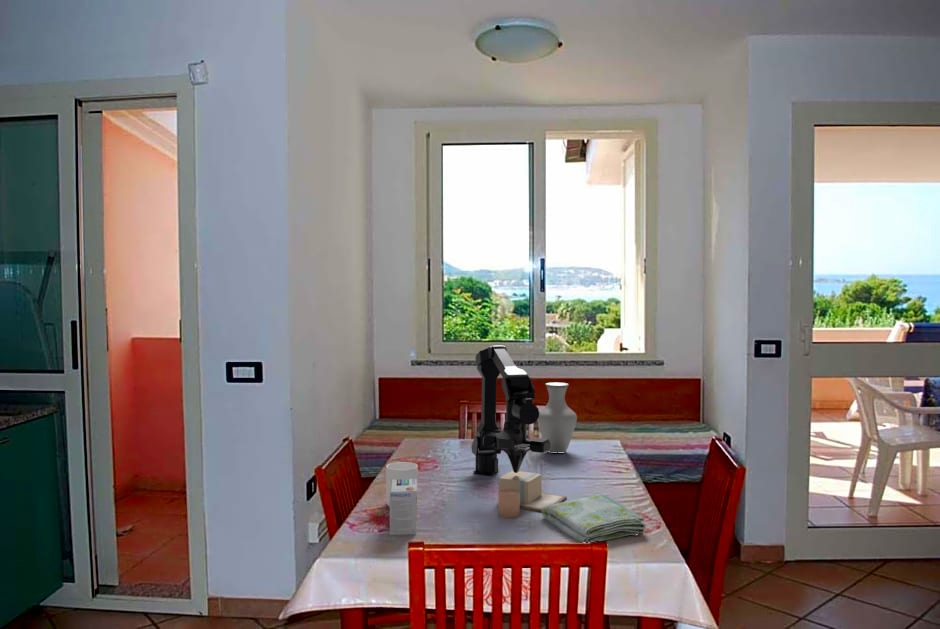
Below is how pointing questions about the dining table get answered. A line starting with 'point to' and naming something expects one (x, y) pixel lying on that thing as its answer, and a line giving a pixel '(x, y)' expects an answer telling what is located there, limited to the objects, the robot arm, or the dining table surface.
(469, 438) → the dining table surface
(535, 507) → the picture frame
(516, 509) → the wooden cylinder
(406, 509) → the light bulb box
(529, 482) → the carton
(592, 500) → the towel
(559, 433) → the vase
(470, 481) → the dining table surface
